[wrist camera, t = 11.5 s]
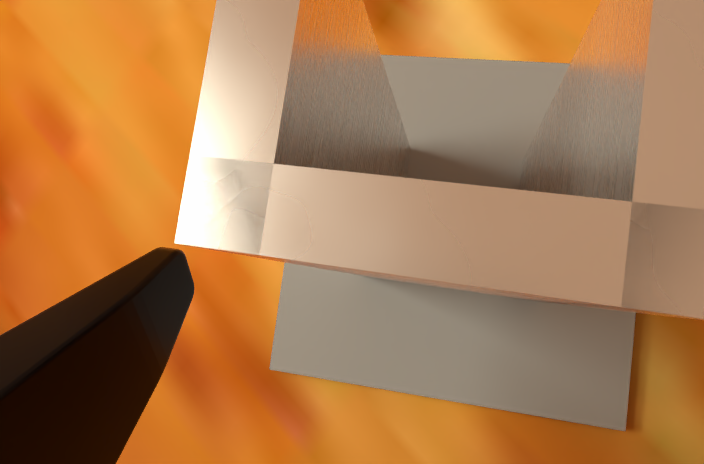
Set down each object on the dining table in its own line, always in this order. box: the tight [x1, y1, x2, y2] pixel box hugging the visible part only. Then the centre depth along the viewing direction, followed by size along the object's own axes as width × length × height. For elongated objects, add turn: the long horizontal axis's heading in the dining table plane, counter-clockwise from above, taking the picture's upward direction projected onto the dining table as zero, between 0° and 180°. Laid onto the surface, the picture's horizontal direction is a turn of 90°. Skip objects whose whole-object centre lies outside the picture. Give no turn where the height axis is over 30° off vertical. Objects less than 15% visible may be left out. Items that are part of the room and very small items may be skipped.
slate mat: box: [270, 55, 636, 431], centre depth 17 cm, size 11×11×1 cm
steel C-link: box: [174, 0, 704, 320], centre depth 11 cm, size 4×6×12 cm
